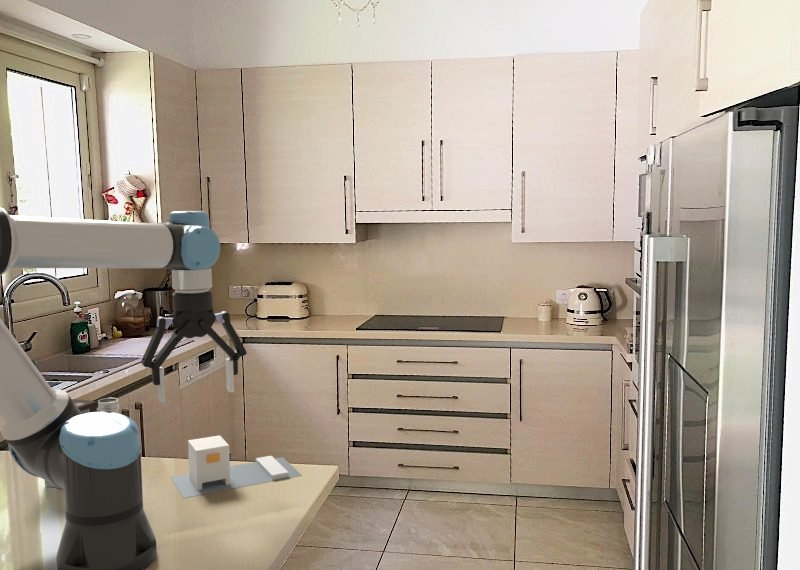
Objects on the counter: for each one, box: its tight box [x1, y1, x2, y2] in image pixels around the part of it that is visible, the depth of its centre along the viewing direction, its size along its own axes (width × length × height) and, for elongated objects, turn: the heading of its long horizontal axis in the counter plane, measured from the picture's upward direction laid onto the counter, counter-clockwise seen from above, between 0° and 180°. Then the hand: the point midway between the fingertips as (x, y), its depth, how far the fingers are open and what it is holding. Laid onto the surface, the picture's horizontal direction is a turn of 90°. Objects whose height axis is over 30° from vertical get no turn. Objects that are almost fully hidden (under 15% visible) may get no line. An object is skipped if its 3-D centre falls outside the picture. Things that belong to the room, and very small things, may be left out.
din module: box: [187, 435, 231, 490], centre depth 150 cm, size 7×6×8 cm
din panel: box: [170, 455, 303, 499], centre depth 153 cm, size 12×24×2 cm, turn 118°
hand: (196, 395), depth 149 cm, fingers open, 13 cm apart
